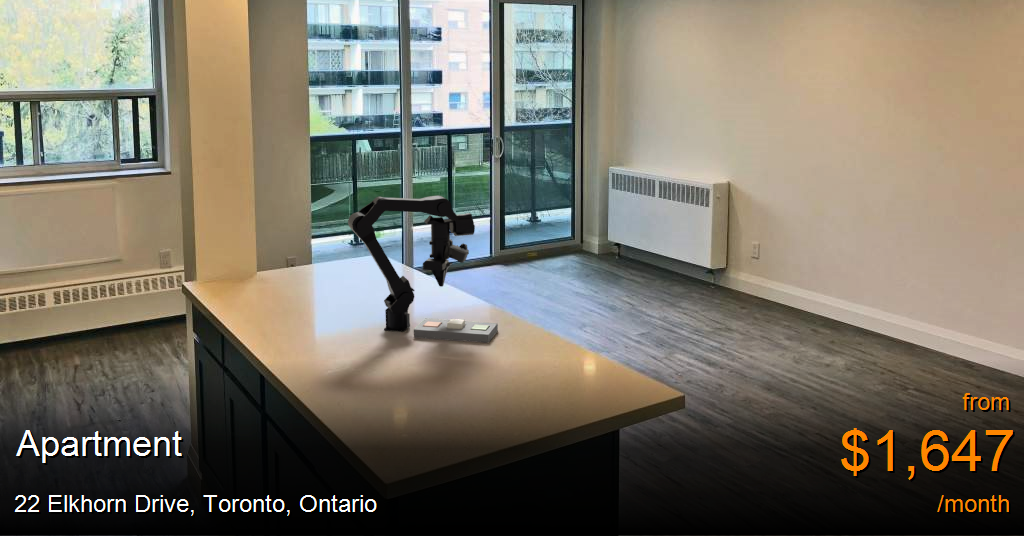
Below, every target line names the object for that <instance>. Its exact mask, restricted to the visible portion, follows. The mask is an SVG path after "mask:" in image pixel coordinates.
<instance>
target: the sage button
mask: <svg viewBox="0 0 1024 536" xmlns="http://www.w3.org/2000/svg"><path fill="white" fill-rule="evenodd" d="M488 328H489V325H474V326H473V327H472V328H471V330H481V331H487V329H488Z"/></svg>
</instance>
